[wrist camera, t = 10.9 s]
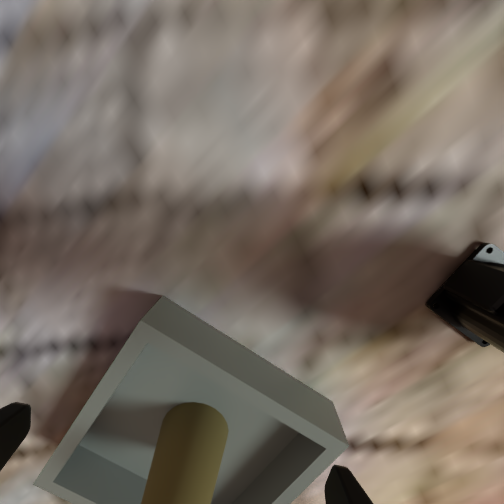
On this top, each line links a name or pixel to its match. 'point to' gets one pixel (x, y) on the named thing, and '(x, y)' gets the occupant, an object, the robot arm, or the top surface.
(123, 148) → the top surface
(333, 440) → the tray
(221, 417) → the olive gourd-shaped piece
